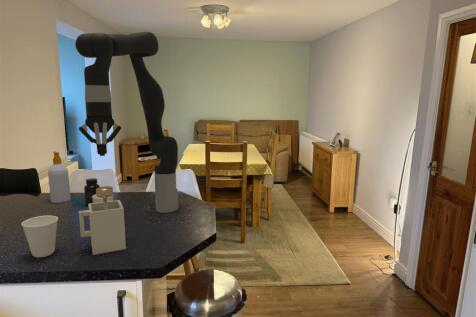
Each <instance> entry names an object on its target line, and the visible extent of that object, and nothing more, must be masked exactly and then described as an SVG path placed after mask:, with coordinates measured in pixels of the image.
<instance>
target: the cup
mask: <svg viewBox="0 0 476 317" xmlns="http://www.w3.org/2000/svg"><path fill="white" fill-rule="evenodd" d="M58 221H59V217H58V216H55V215H49V214H48V215H39V216H35V217H34V216H33V217H30V218H28V219H25V220H23V221H22V222H21V226H22V228H23V231H24V234H25V237H26V240H27V244H28V246H29V249H30V252H31V256H33V257H35V258H46V257H48V256H51V255H52V254H53V253H55V248H56V240H57V239H56V238H57V230H58V229H57V228H58Z"/></svg>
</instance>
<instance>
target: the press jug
mask: <svg viewBox="0 0 476 317" xmlns="http://www.w3.org/2000/svg"><path fill="white" fill-rule="evenodd" d="M107 205H108V210H104V204H103V202H99V203H90V204H88V206H87V207H88V209H86V210H78V219H79V230H80V231H79V232H80V238H86V237H90V240H91V241H90V242H91V252H92V256H94V255H95V256H96V255H101V254H106V253H110V252H117V251H123V250H127V247H126V246H127V245H126V244H127V243H126V229H125V228H126V226H125V209H124V206H123V204H122V202H121V200H120V199H117V200H113V201H107ZM88 216H89V230H85V221H84V220H85V219H84V217H88Z"/></svg>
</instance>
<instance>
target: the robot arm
mask: <svg viewBox="0 0 476 317" xmlns="http://www.w3.org/2000/svg"><path fill="white" fill-rule="evenodd" d="M158 41H159V40H158V39H157V37H156V35H155V34H154V33H153V32H151V31H141V32H133V33H129V34H121V33H118V34H117V33H104V32H92V33H91V32H90V33H89V32H88V33H81V34H79V35H78V36H77V38H76V39H75V49H76V51H77V52H78V53H79V55H81V56H82V57H84V58H87V59H89V58H91V59H92V58H93V59H95V61H94V63H92V64H90V65H88V66H85V67H84V70H83V74H84V75H83V76H84V102H85V114H86V116H85V117H86V118H85V120H84V124H82V125H81V126H79V127H78V131H79V132H80V133H81V134H82V135H83V136H84V137H85V138H86V139H87V140H88V141H89V143H93V144H96V153H97V154H98V155H99V157H104V156H106V155H107V153H108V146H107V144H108V143H111V142H112V141H114V139H115V138H116V136H117V135H118V134H119V133H120V131H121V130H122V126H121V125H118V124H117V123H116V122H115V119H114V118H113V105H112V92H111V86H110V69H111V64H112V59H113V57H120V56H126V55H127V56H128V57H129V59H130V62H131V64H132V69H133V71H134V74H135V75H134V76H135V79H136V83H137V87H138V93H139V98H140V102H141V106H142V109H143V114H144V119H145V123H146V130H147V136H148V137H147V138H148V139H147V140H148V145H149V150H150V152H151V153H152V154H153V155H154V156H156V157H160V163H159V164H157V165H155V166H154V169H153V170H154V188H155V189H154V191H155V192H154V194H155V195H154V197H155V212H157V213H161V214H163V213H165V214H169V213H173V212H175V211H176V212H177V211H178V210H179V191H178V188H177V166H178V160H179V159H178V158H179V157H178V156H179V149H178V147H179V146H178V142H177V140H176V139H175V138H174V137H173V136H168V135H164V131H163V127H162V126H163V125H162V120H163V117H164V112H165V109H166V108H165V107H166V104H165V98H164V93H163V88H162V87H161V85H160V84H159V83H158V81H157V80H156V79H155V78H154V77H153V76H152V75H151V73H150V72H149V70H148V69H147V67H146V64H145V61H144V58H150V57H154V56H155V55H156V54H158V52H159V42H158ZM88 128H89V129H88ZM111 128H112V132H111V134H110V135H109V136H108V133H109V132H110V130H111ZM88 130H90V131H91V132H92V133H93V134H94V136H95V138H93V136H92V135H91V134H90V133H89V132H88ZM100 135H101V136H100Z"/></svg>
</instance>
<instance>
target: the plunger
mask: <svg viewBox="0 0 476 317" xmlns="http://www.w3.org/2000/svg"><path fill="white" fill-rule="evenodd" d="M113 190H114V188H113V186H109V185H108V186H107V185H104V186H100V187H98V188H96V195H97V197H100V198H103V204H104V210H108V205H107V197H110V196H112V195H113V196H114V191H113Z"/></svg>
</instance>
